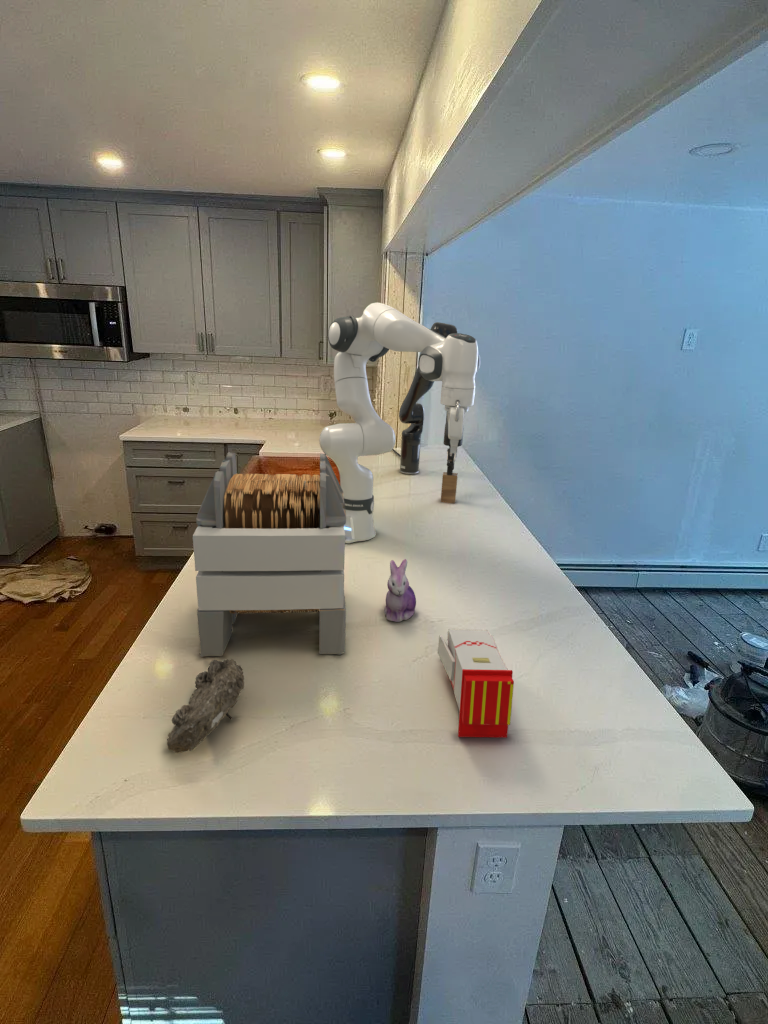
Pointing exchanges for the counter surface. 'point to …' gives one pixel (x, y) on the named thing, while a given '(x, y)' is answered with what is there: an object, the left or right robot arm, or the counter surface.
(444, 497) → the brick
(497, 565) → the counter surface
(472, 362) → the left robot arm
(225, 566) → the record crate
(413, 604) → the figurine
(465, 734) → the toy
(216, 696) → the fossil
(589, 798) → the counter surface
